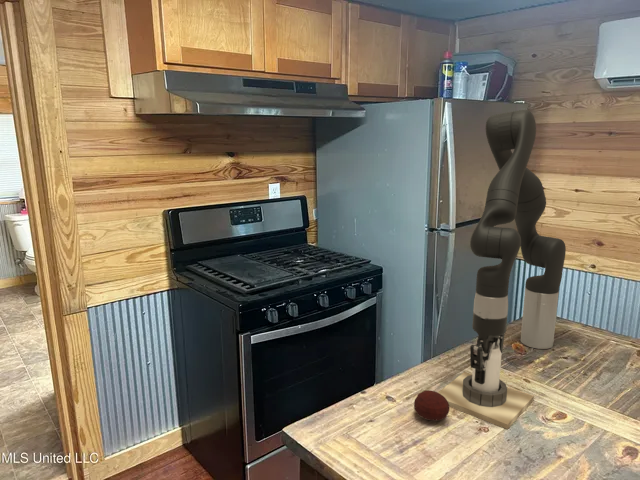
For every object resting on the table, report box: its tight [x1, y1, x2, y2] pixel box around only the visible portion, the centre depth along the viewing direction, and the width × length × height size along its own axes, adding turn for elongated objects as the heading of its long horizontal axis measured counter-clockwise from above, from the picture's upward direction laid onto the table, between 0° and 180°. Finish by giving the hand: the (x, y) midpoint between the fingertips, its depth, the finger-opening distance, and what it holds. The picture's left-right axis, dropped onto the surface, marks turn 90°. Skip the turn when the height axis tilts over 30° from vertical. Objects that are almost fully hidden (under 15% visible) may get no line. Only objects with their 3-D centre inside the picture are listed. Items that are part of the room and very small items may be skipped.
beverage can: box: [471, 345, 502, 393], centre depth 118 cm, size 6×6×12 cm
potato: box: [413, 389, 450, 421], centre depth 112 cm, size 7×8×6 cm
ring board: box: [438, 371, 535, 430], centre depth 119 cm, size 16×18×4 cm
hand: (485, 377), depth 118 cm, fingers closed on beverage can, 6 cm apart
